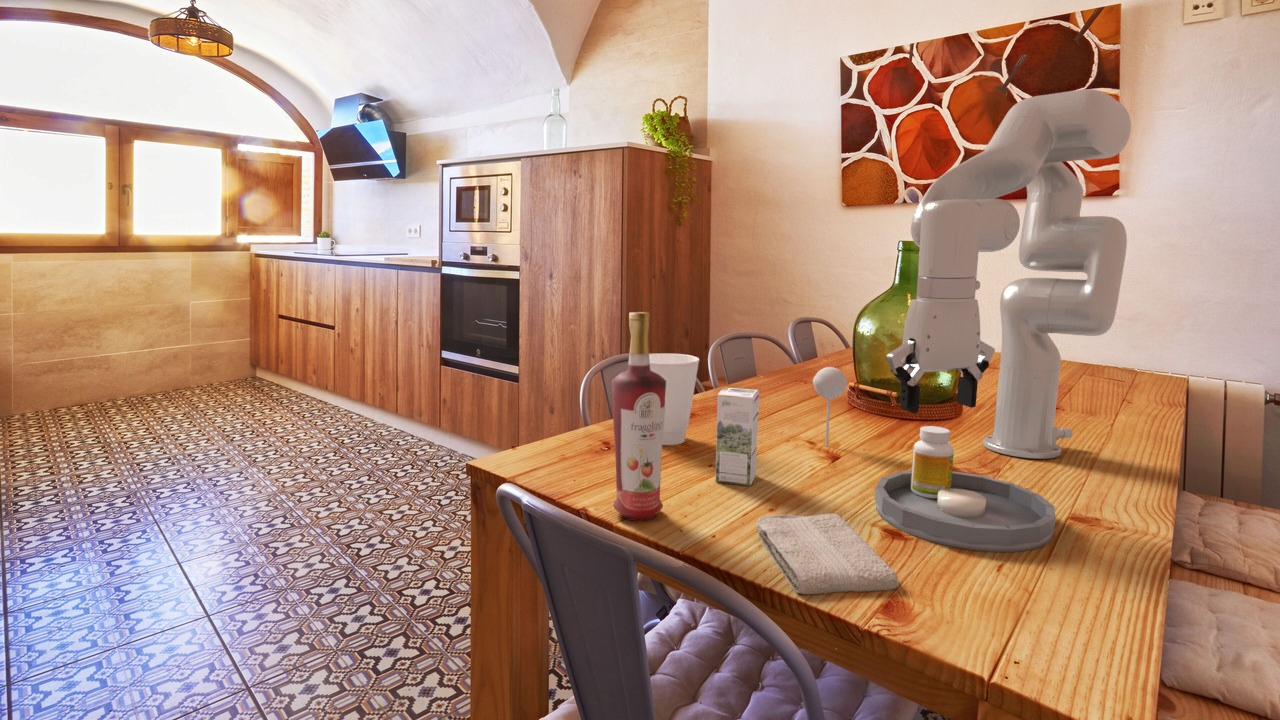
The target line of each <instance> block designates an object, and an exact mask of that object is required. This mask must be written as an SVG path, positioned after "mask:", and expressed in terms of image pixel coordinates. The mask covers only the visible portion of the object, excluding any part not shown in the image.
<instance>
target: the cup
mask: <svg viewBox="0 0 1280 720" xmlns="http://www.w3.org/2000/svg"><path fill="white" fill-rule="evenodd" d="M649 361H650V371H653V372H655V373H657V374H659V375H660V376H661V377H662V378H663V379H665V380H666V392H665V412H664V427H663V439H662V446H675V445H676V446H677V445H680V444H681V445H682V444H683V443H684V442H685V441H686V435H687V434H686V433H687V430H688V428H689V424H690V418H691V413H692V407H693V406H692V405H693V401H694V400H693V399H694V393H695V386H696V382H697V374H698V369H699V363H700V358H699V357H697V356H694V355H691V354H683V353H651V354H650V353H649Z"/></svg>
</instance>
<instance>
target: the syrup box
mask: <svg viewBox="0 0 1280 720" xmlns="http://www.w3.org/2000/svg"><path fill="white" fill-rule="evenodd" d="M716 403H717V408H716V409H717V411H716V412H717V413H716V416H717V417H716V445H715V446H716V447H715V454H716V455H715V482H716V483H721V484H722V483H723V484H731V485H738V486H747V487H750V486H751V485H752V483H753V482H754V479H755V478H756V475H757V451H758V450H757V449H758V432H759V431H758V430H759V429H758V428H759V426H758V425H759V406H760V390H759V389H752V388H751V389H749V388H737V387H724V388H722V389H720V391H719V392H718V394H717V402H716Z"/></svg>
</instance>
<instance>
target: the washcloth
mask: <svg viewBox="0 0 1280 720" xmlns="http://www.w3.org/2000/svg"><path fill="white" fill-rule="evenodd" d="M755 526H756V527H755V528H756V531H757V533H758V537H759V538H760V541H761V544H762V545H763V547H764V549H765V550H766V551H767V553H768V554H769V556H770V558H771V559H772V561H774V564H775V565H776V566H777V568H778V569H779V570H780V572H781V573H782V575H783V576H784V578H785V579H786V580H787V582H788V583H789V586H790V587H791V589H792V590H793V591H794V592H795V593H796V594H800V595H807V596H808V595H818V594H819V595H820V594H821V595H822V594H824V595H825V594H826V595H827V594H830V593H837V592H840V593H842V592H854V593H858V592H860V593H861V592H862V593H863V592H864V593H865V592H871V591H872V592H875V591H876V592H878V591H891V590H892V591H893V590H895V589H897V588H899V587H900V584H899V581H898V576H897V575H896V571H894V569H892V568H891V567H890V565H889V564H888V563H887V562H886V561H885V560H884V559H883V558H881V556H880V555H878V553H877V552H876V551H875V550H874V549H873V548H872V547H871V546H870V545H869V543H868V542H867V541H866V540H864V538H863V537H862V536H860V534H859V533H858V532H856V531H855V530H854V529H853V528H852V527H851V526H850V525H849V524H848V522H847V521H846V520H845V519H844V518H843V517H842V516H841V515H839V514H837V513H822V514H816V515H809V516H803V515H802V516H801V515H792V514H780V515H779V514H776V515H768V516H767V515H766V516H765V515H763V516H760V517H759V518H758V520H757V524H756V525H755Z"/></svg>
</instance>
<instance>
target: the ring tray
mask: <svg viewBox="0 0 1280 720" xmlns="http://www.w3.org/2000/svg"><path fill="white" fill-rule="evenodd" d="M911 477H912V470H906V471H896V472H894V473H892V474H888V475H886V476H882V477H881V478H880V480H879V481H878V482H877V484H876V485H875V491H874V492H875V493H874V501H875V509H876V512H877V513H878V515H879V516H880V518H882V519H883V520H884V521H885V522H886V523H888V524H889V525H891V526H892V527H894V528H896V529H898V530H900V531H902V532H903V533H904V532H905V533H906V534H909V535H911V536H913V537H916V538H919V539H922V540H924V541H927V542H930V543H931V542H932V543H936V544H939V545H943V546H947V547H952V548H957V549H962V550H967V551H969V550H970V551H978V552H988V553H1016V552H1026V551H1031V550H1035V549H1039V548H1041V547H1043V546H1045V545H1047V544H1048V543H1050V542H1051V540H1052V538H1053V534H1054V533H1055V526H1056V517H1057V516H1056V507H1055V505H1053V504H1052V503H1051V502H1050V501H1048V500H1047V499H1046V498H1045V497H1043V496H1042V495H1041V494H1038V493H1037V492H1034V491H1032V490H1029V489H1027V488H1025V487H1023V486H1020V485H1017V484H1016V483H1011V482H1008V481H1004V480H1002V479H1001V480H1000V479H997V478H994V477H993V478H992V477H989V476H985V475H980V474H973V473H967V472H960V471H954V470H952V479H951V489H942V490H940V491H939V492H938V499H932V498H925V497H922V496H919V495H917V494H915V493H913V492H912V490H911Z"/></svg>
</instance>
